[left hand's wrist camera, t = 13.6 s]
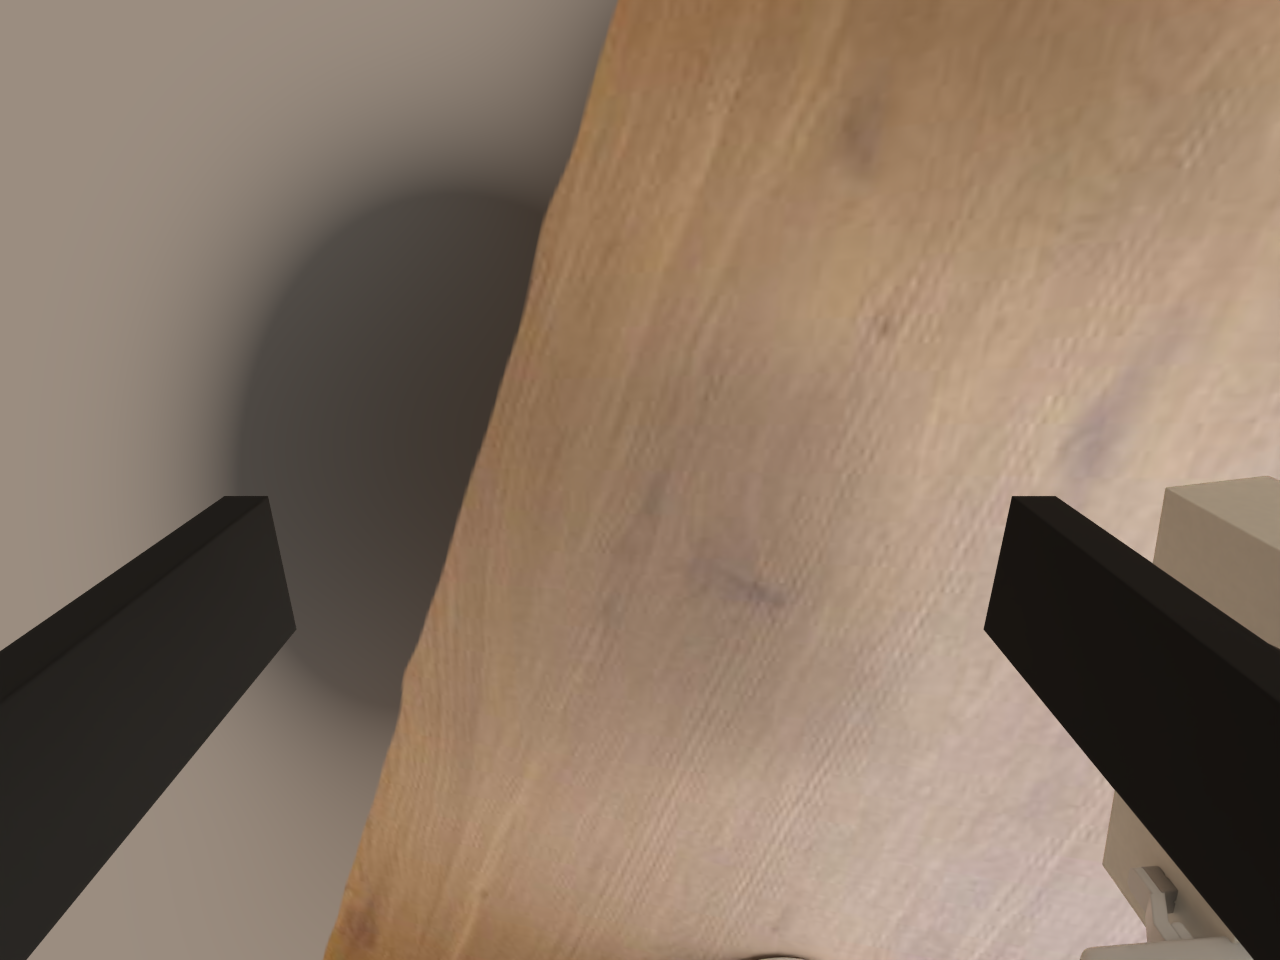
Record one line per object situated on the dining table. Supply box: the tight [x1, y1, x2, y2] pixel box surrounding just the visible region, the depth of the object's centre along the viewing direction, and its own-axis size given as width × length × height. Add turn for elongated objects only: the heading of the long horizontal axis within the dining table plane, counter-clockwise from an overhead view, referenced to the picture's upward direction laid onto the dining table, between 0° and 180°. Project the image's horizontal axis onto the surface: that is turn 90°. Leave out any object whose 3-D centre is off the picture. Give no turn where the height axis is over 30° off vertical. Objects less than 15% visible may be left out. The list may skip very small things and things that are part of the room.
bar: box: [1103, 476, 1280, 944], centre depth 35 cm, size 26×5×9 cm, turn 7°
